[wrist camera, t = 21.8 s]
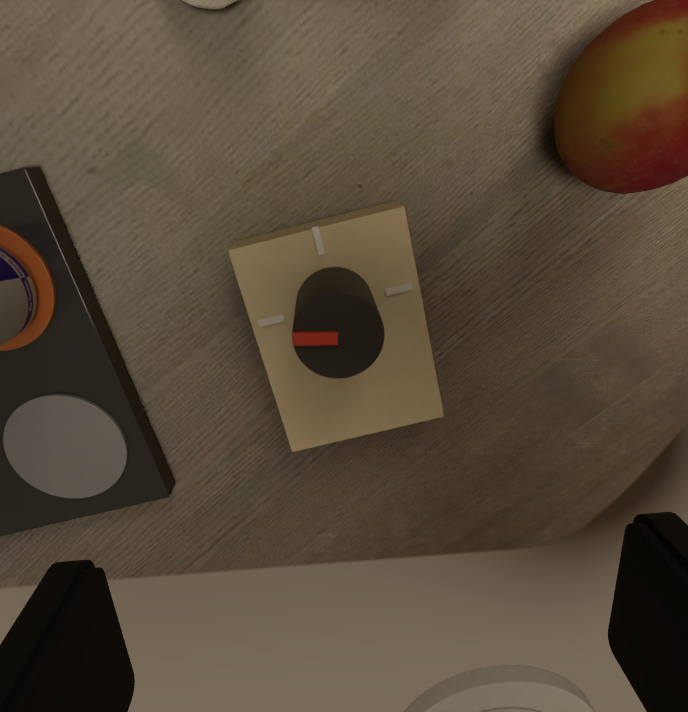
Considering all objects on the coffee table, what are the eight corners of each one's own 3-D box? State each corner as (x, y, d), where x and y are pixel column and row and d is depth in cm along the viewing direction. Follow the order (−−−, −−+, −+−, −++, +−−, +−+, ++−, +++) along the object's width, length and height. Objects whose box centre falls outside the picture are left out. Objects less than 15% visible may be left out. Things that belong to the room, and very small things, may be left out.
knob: (373, 266, 27) (386, 292, 22) (372, 340, 28) (384, 381, 23) (294, 267, 27) (289, 294, 22) (297, 341, 28) (293, 382, 23)
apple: (692, 148, 28) (825, 148, 21) (546, 207, 29) (626, 228, 22) (670, -8, 26) (814, -71, 18) (510, 62, 26) (586, 29, 19)
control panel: (433, 394, 33) (445, 418, 30) (294, 427, 33) (292, 454, 30) (395, 198, 29) (404, 204, 26) (235, 238, 29) (226, 249, 26)
